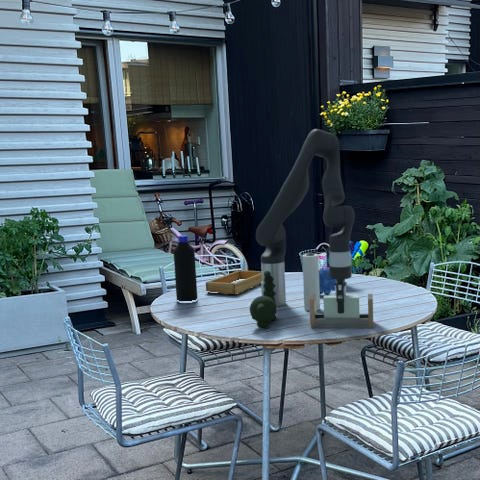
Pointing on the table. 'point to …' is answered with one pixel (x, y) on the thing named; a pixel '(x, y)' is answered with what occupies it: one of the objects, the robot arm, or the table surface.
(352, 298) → the pale green rectangular block
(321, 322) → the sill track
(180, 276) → the bottle
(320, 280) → the grapes
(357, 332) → the table surface
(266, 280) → the toy figurine
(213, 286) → the tray
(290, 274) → the table surface
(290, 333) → the table surface
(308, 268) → the paper towel roll
